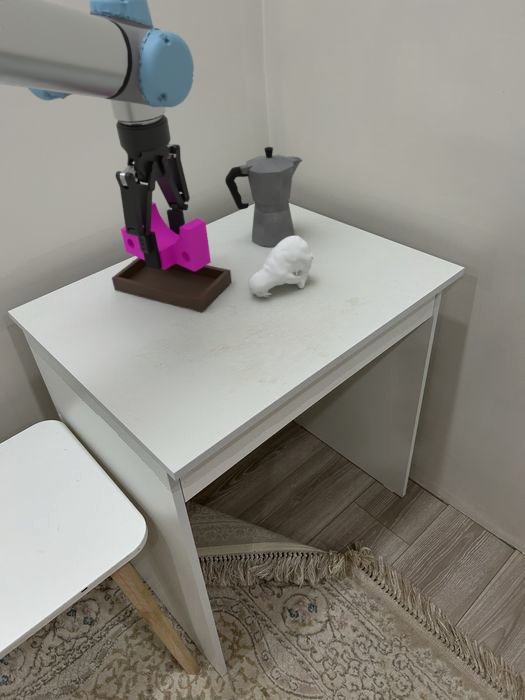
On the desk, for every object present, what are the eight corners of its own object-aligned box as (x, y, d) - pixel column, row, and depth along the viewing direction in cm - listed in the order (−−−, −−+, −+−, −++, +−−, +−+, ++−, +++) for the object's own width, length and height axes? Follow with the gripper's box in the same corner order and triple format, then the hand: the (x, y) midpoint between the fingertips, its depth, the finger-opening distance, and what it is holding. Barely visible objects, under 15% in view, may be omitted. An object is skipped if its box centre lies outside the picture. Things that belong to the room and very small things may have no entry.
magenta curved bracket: (126, 251, 96) (116, 212, 92) (153, 238, 100) (145, 199, 95) (183, 278, 88) (176, 236, 84) (210, 262, 92) (205, 221, 87)
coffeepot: (292, 220, 116) (290, 133, 104) (312, 238, 109) (312, 148, 97) (224, 237, 111) (214, 148, 100) (241, 257, 105) (232, 165, 93)
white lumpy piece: (315, 239, 90) (257, 269, 86) (318, 281, 96) (264, 311, 92) (291, 226, 94) (235, 254, 90) (296, 267, 100) (243, 296, 96)
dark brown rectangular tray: (114, 290, 98) (111, 277, 96) (147, 263, 105) (145, 251, 103) (202, 312, 91) (200, 299, 89) (231, 282, 98) (230, 269, 96)
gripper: (118, 142, 71) (150, 290, 86) (199, 100, 85) (215, 233, 99) (74, 137, 74) (113, 280, 89) (159, 97, 88) (181, 227, 102)
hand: (167, 255), depth 94 cm, fingers closed on magenta curved bracket, 7 cm apart
